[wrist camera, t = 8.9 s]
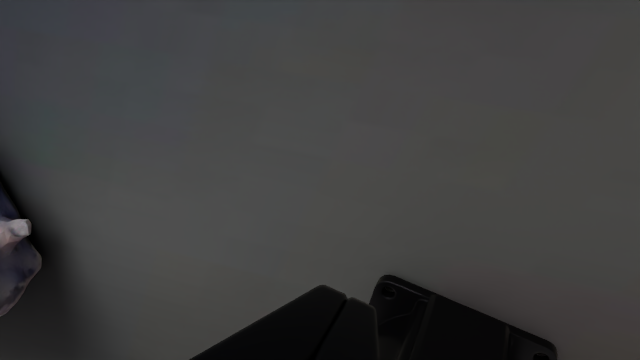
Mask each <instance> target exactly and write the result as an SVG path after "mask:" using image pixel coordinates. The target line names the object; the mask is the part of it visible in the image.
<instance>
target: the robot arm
mask: <svg viewBox="0 0 640 360" xmlns="http://www.w3.org/2000/svg"><path fill="white" fill-rule="evenodd" d="M385 287H390V288H392V289H393V290H394V292H390V291H388V290H386V288H385ZM536 353H544V354H546V356H539V355H537V354H536ZM190 360H557V350H556V347H555V346H554V345H553V344H552V343H551V342H549V341H547V340H545V339H543V338H540V337H538V336H535V335H533V334H531V333H528V332H526V331H524V330H521V329H519V328H516V327H514V326H512V325H509V324H507V323H505V322H502V321H500V320H498V319H495V318H493V317H490V316H488V315H486V314H483V313H481V312H479V311H476V310H474V309H472V308H469V307H467V306H464V305H462V304H460V303H457V302H455V301H453V300H450V299H448V298H446V297H443V296H441V295H438V294H436V293H434V292H431V291H429V290H427V289H424V288H422V287H419V286H417V285H415V284H412V283H410V282H408V281H405V280H403V279H401V278H398V277H396V276H393V275H384V276H382V277H380V279H379V280H378V282H377V284H376V287H375V289H374V292H373V295H372V298H371V300H370V303H369V304H367V303H365V302H362V301H360V300H358V299H356V298H353V297H351V298H348V299H347V297H346V295H345V294H344V293H342V292H340V291H337V290H335V289H333V288H331V287H328V286H326V285H319V286H317V287H316V288H314V289H312V290H310V291H309V292H307V293H305V294H303V295H302V296H300V297H298V298H296V299H295V300H293V301H291V302H289V303H288V304H286V305H284V306H282V307H281V308H279V309H277V310H275V311H274V312H272V313H270V314H268V315H267V316H265V317H263V318H261V319H260V320H258V321H256V322H254V323H253V324H251V325H249V326H247V327H246V328H244V329H242V330H240V331H239V332H237V333H235V334H233V335H232V336H230V337H228V338H226V339H225V340H223V341H221V342H219V343H218V344H216V345H214V346H212V347H211V348H209V349H207V350H205V351H204V352H202V353H200V354H198V355H197V356H195V357H193V358H191V359H190Z"/></svg>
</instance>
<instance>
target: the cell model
mask: <svg viewBox="0 0 640 360" xmlns="http://www.w3.org/2000/svg"><path fill="white" fill-rule="evenodd" d="M30 234H31V222H30V221H29V219H21V218H20V215H19V212H18V209H17V208H16V206H15V205H14V203H13V202H12V200H11V198H10V197H9V195H8V194H7V192H6V191H5V189H4V188H3V185H2V183H1V181H0V317H1V316H3V315H4V314H6V313H7V312H8V311H9V310H10V309H11V308H12V307H13V306H14V305H15V304H16V303H17V302H18V300H19V299H20V297H21V296H22V294H23V293H24V291H25V289H26V287H27V285H28V284H29V282H30V280H31V279H32V278H33V277H34V276H35V275H36V273H37V272H38V271H39V270H40V269H41V261H42V258H41V255H40V254H39V253H38V252H37V251H36V249H35V248H34V247H33V245H32V244H31V242H30V241H29V239H28V238H27V236H28V235H30Z"/></svg>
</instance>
